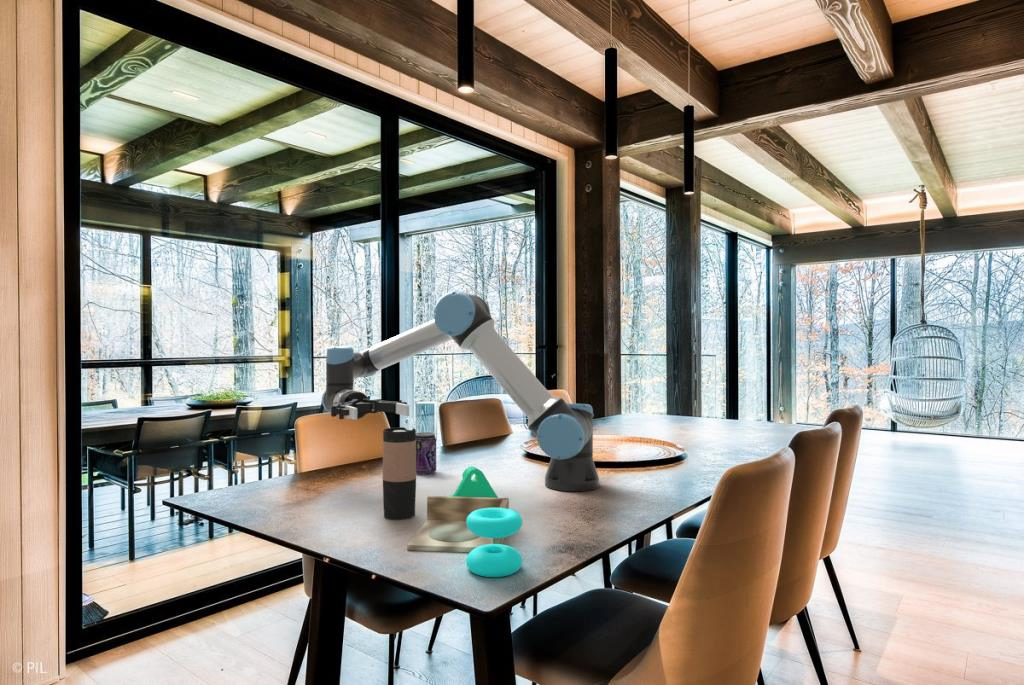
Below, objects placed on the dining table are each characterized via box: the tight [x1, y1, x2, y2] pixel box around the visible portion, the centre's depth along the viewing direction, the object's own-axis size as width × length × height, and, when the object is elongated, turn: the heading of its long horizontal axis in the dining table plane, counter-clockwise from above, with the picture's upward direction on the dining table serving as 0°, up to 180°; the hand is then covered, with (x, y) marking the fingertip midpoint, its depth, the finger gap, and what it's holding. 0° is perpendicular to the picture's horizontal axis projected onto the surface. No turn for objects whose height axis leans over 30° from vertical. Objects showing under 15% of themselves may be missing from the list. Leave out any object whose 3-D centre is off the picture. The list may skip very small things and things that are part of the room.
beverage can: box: [416, 431, 437, 475], centre depth 190 cm, size 7×7×12 cm
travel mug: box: [382, 426, 417, 521], centre depth 143 cm, size 8×8×20 cm
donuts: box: [465, 508, 523, 578], centre depth 110 cm, size 10×10×10 cm
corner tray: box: [406, 495, 510, 553], centre depth 128 cm, size 18×18×6 cm
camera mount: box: [447, 466, 499, 498], centre depth 151 cm, size 12×8×10 cm, turn 113°
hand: (382, 412), depth 151 cm, fingers open, 13 cm apart
